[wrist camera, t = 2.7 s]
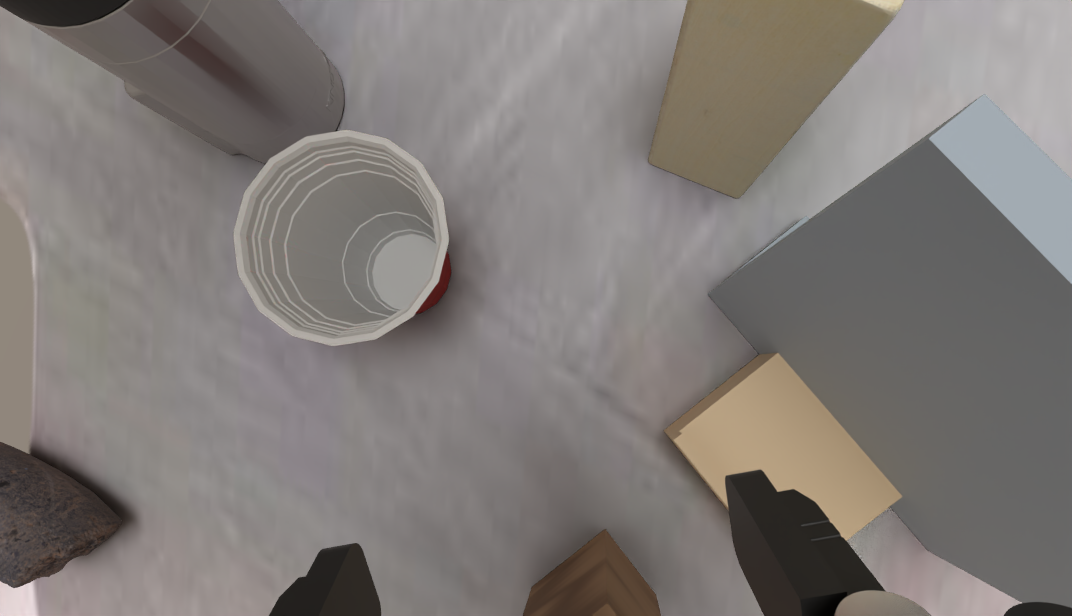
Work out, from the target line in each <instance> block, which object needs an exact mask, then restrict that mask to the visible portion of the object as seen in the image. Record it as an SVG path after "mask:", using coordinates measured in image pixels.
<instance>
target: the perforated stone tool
mask: <svg viewBox="0 0 1072 616" xmlns="http://www.w3.org/2000/svg"><path fill="white" fill-rule="evenodd" d="M121 523H122V521H121V519H120V518H119V517H118V516H117V515H116V514H115V513H114V512H113V511H112V510H111V509H110V508H109V507H108V506H107V505H106V504H105V503H104V502H103V501H102V500H101V499H100V498H99V497H98V496H97V495H96V494H95V493H93V492H92V491H91V490H89V489H88V488H86V487H84V486H83V485H81V484H80V483H78V482H77V481H76V480H74V479H73V478H71V477H69V476H68V475H66V474H64V473H63V472H61V471H60V470H58V469H56V468H54V467H52V466H50V465H49V464H47V463H45V462H43V461H41V460H39V459H37V458H35V457H33V456H31V455H29V454H27V453H25V452H23V451H21V450H18V449H16V448H14V447H12V446H9V445H7V444H4V443H2V442H0V581H1V582H3V583H5V584H8V585H9V586H11V587H13V588H16V587H20V586H23V585H24V584H27V583H30V582H31V581H33V580H35V579H37V578H40V577H49V576H50V575H52V574H55V573H57V572H59V571H60V570H61V569H63V567H64V566H65V565H66V564H67V563H68V562H69V561H70V560H72V559H73V558H75V557H78V556H82V555H88V554H89V553H90V552H91V551H92V550H93V549H95V548H96V547H97V546H98V545H100V544H101V543H102V542H103V541H105V540H106V539H107V538H109V537H110V536H111V535H112V534H113V533H114V532H115V531H116V529H117V528H118V527H119V526H120V524H121Z"/></svg>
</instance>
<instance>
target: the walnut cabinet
mask: <svg viewBox="0 0 1072 616" xmlns="http://www.w3.org/2000/svg"><path fill="white" fill-rule="evenodd" d="M523 616H661V613H660V609H659V605H658V601H657V597H656V595H655V593H654V592H653V591H652V589H651V588H650V587H649V585H648V584H647V583H646V582H645V580H644V579H643V578H642V576H641V575H640V574H639V572H638V571H637V570H636V568H635V567H634V566H633V565H632V563H631V562H630V561H629V559H628V558H627V557H626V555H625V554H624V553H623V551H622V550H621V549H620V548H619V546H618V545H617V544H616V542H615V541H614V540H613V538H612V537H611V536H610V535H609V533H608V532H607V531H606V529H604V530H603V531H602V532H601V533H599V534H598V535H597V536H596V537H594V538H593V539H592V540H591V541H589V542H588V543H587V544H586V545H584V546H583V547H582V548H581V549H579V550H578V551H577V552H575V553H574V554H573V555H572V556H570V557H569V558H568V559H567V560H565V561H564V562H563V563H562V564H560V565H559V566H558V567H557V568H555V569H554V570H553V571H551V572H550V573H549V574H548V575H546V576H545V577H544V578H543V579H541V580H540V581H539V582H538V583H536V584H535V585H534V586H533V587H532V588H531V591H530V594H529V598H528V601H527V604H526V607H525V610H524V613H523Z"/></svg>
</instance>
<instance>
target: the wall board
mask: <svg viewBox="0 0 1072 616" xmlns="http://www.w3.org/2000/svg"><path fill="white" fill-rule="evenodd" d="M708 295H709V296H710V298H711V299H712V300H713V301H714V302H715V303H716V305H717V306H718V307H719V308H720V309H721V310H722V312H723V313H724V314H725V315H726V316H727V317H728V319H729V320H730V321H731V322H732V323H733V324H734V326H735V327H736V328H737V329H738V330H739V331H740V333H741V334H742V335H743V336H744V337H745V338H746V339H747V341H748V342H749V343H750V344H751V345H752V346H753V348H754V349H755V350H756V351H757V352H758V353H759V355H758V356H757V357H756V358H754V359H753V360H752V361H750V362H749V363H748V364H747V365H745V366H744V367H743V368H742V369H740V370H739V371H738V372H737V373H735V374H734V375H733V376H732V377H730V378H729V379H728V380H727V381H725V382H724V383H723V384H722V385H720V386H719V387H718V388H716V389H715V390H714V391H713V392H711V393H710V394H709V395H708V396H706V397H705V398H704V399H703V400H701V401H700V402H699V403H698V404H696V405H695V406H694V407H693V408H691V409H690V410H689V411H688V412H686V413H685V414H684V415H682V416H681V417H680V418H679V419H677V420H676V421H675V422H674V423H672V424H671V425H670V426H669V427H667V428H666V429H665V430H664V432H665V433H666V434H667V436H668V437H669V438H670V439H671V440H672V442H673V443H674V444H675V445H676V447H677V448H678V449H679V450H680V452H681V453H682V454H683V455H684V457H685V458H686V459H687V460H688V461H689V463H690V464H691V465H692V466H693V468H694V469H695V470H696V471H697V473H698V474H699V475H700V476H701V478H702V479H703V480H704V481H705V483H706V484H707V485H708V486H709V487H710V489H711V490H712V491H713V492H714V494H715V495H716V496H717V497H718V499H719V500H720V501H721V502H722V504H723V505H724V506H725V507H726V509H727V510H728V511H729V509H728V502H727V494H726V487H725V476H726V475H732V474H737V473H743V472H748V471H754V470H759V469H761V470H762V471H763V472H764V473H765V474H766V476H767V477H768V479H769V480H770V482H771V483H772V484H773V486H774V487H775V489H776V490H777V492H779V491H785V490H791V489H795V490H796V491H798V492H800V493H802V494H803V495H805V496H807V497H808V498H810V499H812V500H813V501H815V502H816V503H817V504H818V506H819V507H820V508H821V509H822V511H823V512H824V513H825V515H826V516H827V517H828V518H829V521H830V523H832V524H833V525H834V526H835V527H836V529H837V530H838V531H839V532H840V534H841V537H843V538H844V539H845V540H846V541H847V540H848V539H849V538H850V537H852V536H853V535H854V534H855V533H857V532H858V531H859V530H861V529H862V528H863V527H864V526H866V525H867V524H868V523H869V522H871V521H872V520H873V519H875V518H876V517H877V516H878V515H880V514H881V513H882V512H884V511H885V510H886V509H887V508H889V507H891V508H892V509H893V511H894V512H895V513H896V514H897V515H898V516H899V518H900V519H901V520H902V521H903V522H904V523H905V525H906V526H907V527H908V528H909V529H910V530H911V532H912V533H913V534H914V535H915V536H916V537H917V539H918V540H919V541H920V542H921V543H922V544H923V546H924V547H925V548H926V549H927V550H928V551H929V552H931V553H933V554H935V555H937V556H938V557H940V558H942V559H944V560H946V561H948V562H949V563H951V564H953V565H955V566H957V567H958V568H960V569H962V570H964V571H966V572H967V573H969V574H971V575H973V576H975V577H977V578H978V579H980V580H982V581H984V582H986V583H987V584H989V585H991V586H993V587H995V588H996V589H998V590H1000V591H1002V592H1004V593H1005V594H1007V595H1009V596H1011V597H1013V598H1015V599H1016V600H1018V601H1020V602H1022V603H1027V602H1048V603H1054V604H1059V605H1063V606H1067V607H1071V608H1072V179H1071V178H1070V177H1069V176H1068V175H1067V174H1066V173H1065V172H1064V171H1063V170H1062V169H1061V168H1060V167H1059V166H1058V165H1057V164H1056V163H1055V162H1054V161H1053V160H1052V159H1051V158H1050V157H1049V156H1047V155H1046V154H1045V153H1044V152H1043V151H1042V150H1041V149H1040V148H1039V147H1038V146H1037V145H1036V144H1035V143H1034V142H1033V141H1032V140H1031V139H1030V138H1029V137H1028V136H1027V135H1026V134H1025V133H1024V132H1023V131H1022V130H1021V129H1020V128H1019V127H1018V126H1017V125H1016V124H1015V123H1014V122H1013V121H1012V120H1011V119H1010V118H1009V117H1008V116H1007V115H1006V114H1005V113H1004V112H1003V111H1002V110H1001V109H1000V108H999V107H998V106H997V105H996V104H995V103H994V102H993V101H992V100H990V99H989V98H988V97H987V96H986V95H985V94H983V95H982V96H981V97H979V98H978V99H976V100H975V101H974V102H972V103H971V104H970V105H968V106H967V107H965V108H964V109H963V110H961V111H960V112H958V113H957V114H956V115H954V116H953V117H951V118H950V119H949V120H947V121H946V122H944V123H943V124H942V125H940V126H939V127H938V128H936V129H935V130H933V131H932V132H931V133H929V134H928V135H926V136H925V137H924V138H922V139H921V140H919V141H918V142H917V143H915V144H914V145H912V146H911V147H910V148H908V149H907V150H906V151H904V152H903V153H901V154H900V155H899V156H897V157H896V158H894V159H893V160H892V161H890V162H889V163H887V164H886V165H885V166H883V167H882V168H880V169H879V170H878V171H876V172H875V173H873V174H872V175H871V176H869V177H868V178H867V179H865V180H864V181H862V182H861V183H860V184H858V185H857V186H855V187H854V188H853V189H851V190H850V191H848V192H847V193H846V194H844V195H843V196H841V197H840V198H839V199H837V200H836V201H835V202H833V203H832V204H830V205H829V206H828V207H826V208H825V209H823V210H822V211H821V212H819V213H818V214H816V215H815V216H814V217H812V218H811V219H809V218H808V217H807V216H805V217H804V218H803V219H801V220H800V221H799V222H797V223H796V224H795V225H794V226H792V227H791V228H790V229H789V230H787V231H786V232H785V233H784V234H782V235H781V236H780V237H778V238H777V239H776V240H775V241H773V242H772V243H771V244H770V245H768V246H767V247H766V248H765V249H763V250H762V251H761V252H760V253H758V254H757V255H756V256H755V257H753V258H752V259H751V260H750V261H748V262H747V263H746V264H745V265H743V266H742V267H741V268H740V269H738V270H737V271H736V272H735V273H733V274H732V275H731V276H730V277H728V278H727V279H726V280H725V281H723V282H722V283H721V284H720V285H718V286H717V287H716V288H715V289H713V290H712V291H711V292H710V293H708Z"/></svg>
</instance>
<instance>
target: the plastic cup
mask: <svg viewBox="0 0 1072 616" xmlns="http://www.w3.org/2000/svg"><path fill="white" fill-rule="evenodd" d="M233 236H234V245H235V253H236V261H237V270H238V275H239V277H240V279H241V281H242V282H243V284H244V286H245V288H246V289H247V291H248V293H249V295H250V296H251V298H252V300H253V302H254V303H255V305H256V307H257V309H258V310H259V311H260V312H261V313H262V314H263V315H265V316H266V317H267V318H269V319H270V320H271V321H273V322H274V323H275V324H277V325H278V326H279V327H281V328H282V329H283V330H285V331H286V332H287V333H289V334H290V335H291V336H294V337H298V338H302V339H306V340H310V341H314V342H318V343H322V344H326V345H330V346H338V345H344V344H350V343H357V342H363V341H369V340H375V339H377V338H379V337H381V336H382V335H384V334H386V333H387V332H389V331H390V330H392V329H394V328H395V327H397V326H399V325H400V324H402V323H403V322H405V321H407V320H408V319H410V318H412V317H413V316H414V315H415V314H418V313H422V312H424V311H426V310H427V309H429V308H430V307H432V306H433V305H435V304H437V302H438V301H439V300H440V298H441V297H442V295H443V294H444V293H445V291H446V290H447V287H448V283H449V279H450V275H451V266H450V259H449V254H448V252H447V247H448V243H449V236H448V229H447V222H446V215H445V209H444V202H443V197H442V196H441V194H440V193H439V191H438V189H437V188H436V186H435V184H434V183H433V181H432V179H431V178H430V176H429V175H428V173H427V171H426V170H425V168H424V166H423V165H422V163H421V162H420V161H418V160H417V159H415V158H414V157H413V156H411V155H410V154H408V153H407V152H406V151H404V150H403V149H401V148H400V147H399V146H397V145H396V144H394V143H393V142H392V141H390V140H389V139H387V138H382V137H378V136H374V135H369V134H365V133H360V132H356V131H351V130H342V131H336V132H330V133H324V134H318V135H312V136H306V137H304V138H303V139H301V140H299V141H298V142H296V143H295V144H293V145H291V146H290V147H288V148H286V149H285V150H283V151H281V152H280V153H278V154H276V155H275V156H273V157H272V158H270V159H269V160H268V162H267V163H266V164H265V166H264V167H263V168H262V170H261V171H260V172H259V174H258V175H257V176H256V178H255V179H254V180H253V181H252V183H251V184H250V185H249V187H248V188H247V189H246V191H245V192H244V195H243V199H242V203H241V206H240V210H239V213H238V217H237V221H236V224H235V228H234V232H233Z"/></svg>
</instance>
